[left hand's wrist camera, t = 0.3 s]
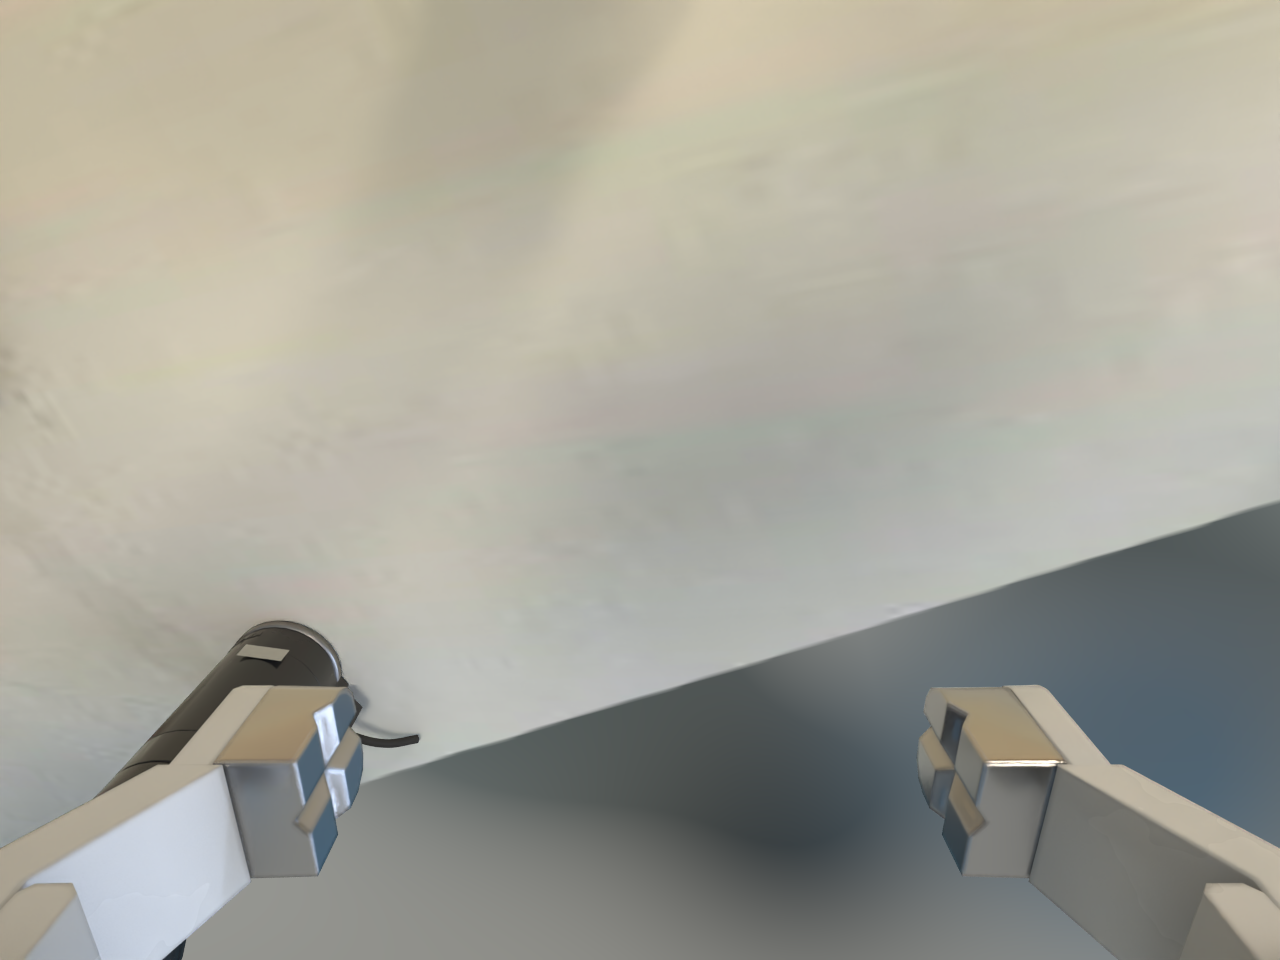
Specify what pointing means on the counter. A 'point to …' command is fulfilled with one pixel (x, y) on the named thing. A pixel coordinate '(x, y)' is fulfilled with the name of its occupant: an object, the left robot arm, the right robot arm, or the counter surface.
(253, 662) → the right robot arm
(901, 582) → the counter surface
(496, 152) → the counter surface
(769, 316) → the counter surface
